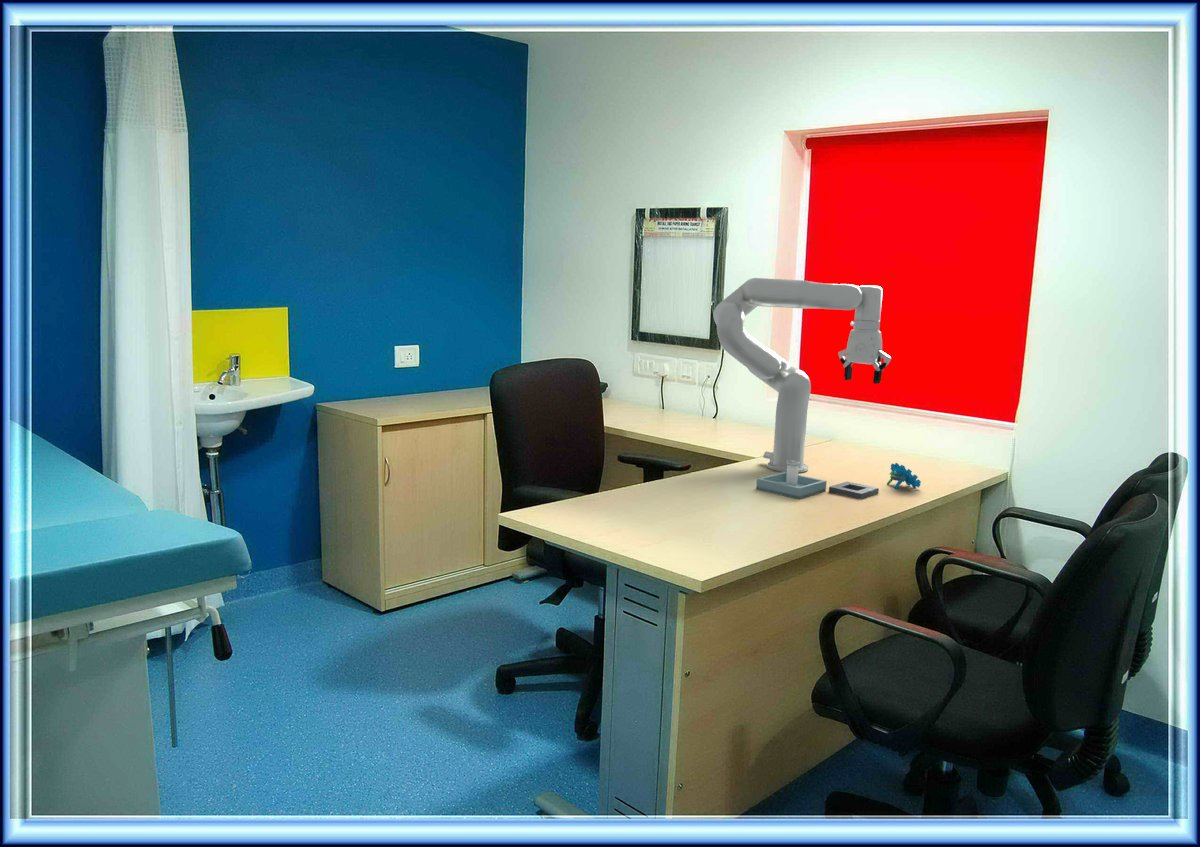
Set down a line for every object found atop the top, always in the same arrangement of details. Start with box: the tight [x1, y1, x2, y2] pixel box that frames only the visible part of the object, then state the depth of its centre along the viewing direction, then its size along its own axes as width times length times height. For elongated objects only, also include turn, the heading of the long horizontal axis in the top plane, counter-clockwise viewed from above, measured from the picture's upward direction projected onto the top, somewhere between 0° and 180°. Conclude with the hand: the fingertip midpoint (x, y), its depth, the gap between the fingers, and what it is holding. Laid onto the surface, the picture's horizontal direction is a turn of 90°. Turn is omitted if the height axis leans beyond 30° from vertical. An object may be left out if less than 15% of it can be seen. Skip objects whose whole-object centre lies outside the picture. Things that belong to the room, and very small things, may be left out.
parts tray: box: [755, 472, 827, 500], centre depth 255 cm, size 14×14×3 cm
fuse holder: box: [828, 481, 880, 500], centre depth 254 cm, size 10×10×2 cm
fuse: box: [786, 460, 800, 487], centre depth 254 cm, size 4×4×8 cm
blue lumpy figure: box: [886, 462, 922, 490], centre depth 262 cm, size 11×6×10 cm
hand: (862, 381), depth 277 cm, fingers open, 9 cm apart
